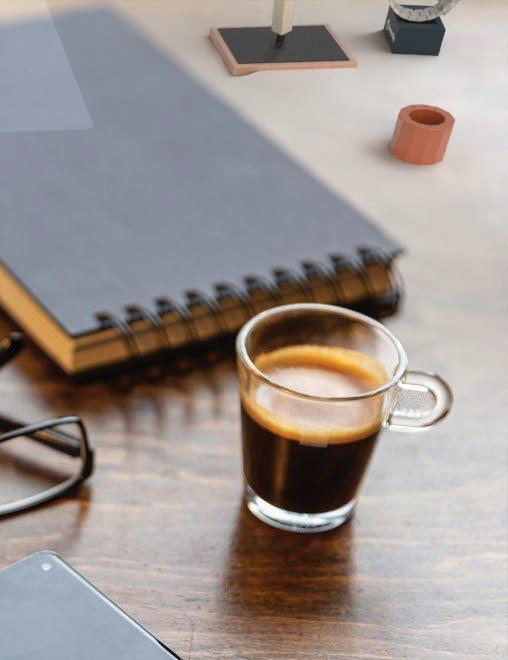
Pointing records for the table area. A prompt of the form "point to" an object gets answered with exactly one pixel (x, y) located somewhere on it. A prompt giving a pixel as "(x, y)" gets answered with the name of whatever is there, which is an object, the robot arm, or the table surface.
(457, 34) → the table surface
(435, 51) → the watch
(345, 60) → the tablet
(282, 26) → the stylus
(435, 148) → the pen holder
